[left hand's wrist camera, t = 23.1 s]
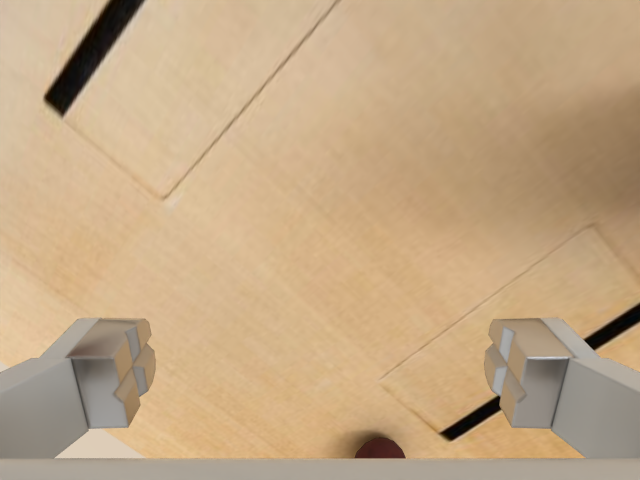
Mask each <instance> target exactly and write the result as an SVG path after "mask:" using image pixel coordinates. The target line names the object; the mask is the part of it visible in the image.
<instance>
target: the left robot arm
mask: <svg viewBox="0 0 640 480" xmlns="http://www.w3.org/2000/svg"><path fill="white" fill-rule="evenodd" d="M150 336H151V330H150V325H149V322H148V321H147V320H146V319H133V318H81V319H77V320H76V321H75V322H74V323H73V324H72V325H71V326H70V327H69V328H68V329H67V330H66V331H65V332H64V333H63V334H62V335H61V336H60V337H59V338H58V339H57V340H56V341H55V342H54V343H53V344H52V345H51V346H50V347H49V348H48V349H47V350H46V351H45V352H44V354H43V355H42V356H41V357H40V358H31V359H29V360H27V361H24V362H22V363H20V364H18V365H15V366H13V367H11V368H9V369H7V370H4V371H2V372H0V480H640V372H638V371H636V370H633V369H631V368H629V367H627V366H624V365H622V364H620V363H618V362H616V361H613V360H611V359H609V358H600V356H599V355H598V354H597V353H596V352H595V351H594V350H593V349H592V348H591V347H590V346H589V345H588V344H587V343H586V342H585V341H584V340H583V339H582V338H581V337H580V336H579V335H578V334H577V333H576V332H575V331H574V330H573V329H572V328H571V327H570V326H569V325H568V324H567V323H566V322H565V321H564V320H563V319H560V318H557V317H556V318H528V319H494V320H493V321H492V323H491V325H490V329H489V336H490V338H491V340H492V341H493V344H492V345H491V346H490V347H489V348H488V349H487V350H486V353H485V361H484V366H485V375H486V379H487V382H488V384H489V386H490V388H491V390H492V391H493V392H494V393H496V394H497V395H499V396H500V397H501V400H500V407H501V409H502V411H503V412H504V414H505V416H506V418H507V420H508V422H509V423H510V425H511V427H512V428H545V429H551V431H553V432H554V433H555V434H556V435H558V436H559V437H560V438H561V439H563V440H564V441H565V442H567V443H568V444H569V445H570V446H572V447H573V448H574V449H575V450H577V451H578V452H579V453H580V454H582V455H583V456H584V457H586V458H477V459H123V458H122V459H121V458H120V459H118V458H114V459H113V458H111V459H108V458H107V459H105V458H97V459H96V458H95V459H94V458H89V459H88V458H86V459H85V458H80V459H79V458H77V459H76V458H70V459H69V458H66V459H65V458H63V459H62V458H61V459H60V458H56V459H55V457H56V456H57V455H58V454H60V453H61V452H62V451H63V450H65V449H66V448H67V447H69V446H70V445H71V444H72V443H74V442H75V441H76V440H77V439H79V438H80V437H81V436H83V435H84V434H85V433H86V432H88V429H94V428H128V427H129V425H130V423H131V422H132V420H133V418H134V416H135V414H136V412H137V411H138V409H139V407H140V400H139V397H140V396H141V395H143V394H144V393H146V392H147V391H148V390H149V388H150V386H151V384H152V382H153V378H154V374H155V366H156V359H155V353H154V350H153V349H152V348H151V347H150V346H149V345H148V344H147V341H148V340H149V338H150Z"/></svg>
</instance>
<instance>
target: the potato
mask: <svg viewBox="0 0 640 480" xmlns="http://www.w3.org/2000/svg"><path fill="white" fill-rule="evenodd" d="M355 459H406V458H405V455H404V453H403V451H402V449H401V448H400V447H399V446H398V445H397V444H396V443H395V442H394V441H392V440H390V439H387V438H376V439H373V440H371V441H369V442H367V443H365V444H364V445H363V446H362V447H361V448H360V449H359V451H358V452H357V453H356V456H355Z"/></svg>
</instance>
